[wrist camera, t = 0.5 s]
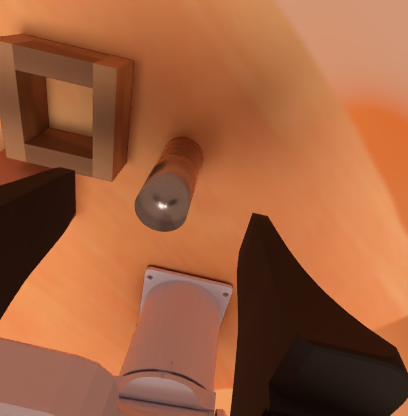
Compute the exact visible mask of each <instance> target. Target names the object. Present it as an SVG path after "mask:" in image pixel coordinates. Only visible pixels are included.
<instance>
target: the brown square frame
mask: <svg viewBox="0 0 408 416" xmlns="http://www.w3.org/2000/svg"><path fill="white" fill-rule="evenodd" d="M133 65H134V61H133V60H129V59H125V58H121V57H116V56H112V55H108V54H104V53H100V52H95V51H91V50H87V49H83V48H79V47H74V46H70V45H66V44H62V43H57V42H53V41H49V40H45V39H41V38H36V37H32V36H28V35H24V34H17V35H9V36H1V37H0V119H1V125H2V131H3V137H4V144H5V150H6V156H7V158H11V159H15V160H20V161H24V162H28V163H33V164H37V165H41V166H46V167H50V168H57V167H62V168H66V169H71V170H75V173H76V174H80V175H85V176H89V177H93V178H97V179H102V180H106V181H110V182H112V181H113V180H114V179H115V177H116V176H117V175H118V173H119V172H120V171H121V170H122V168H123V167H124V166H125V164H126V163H127V151H128V136H129V122H130V108H131V93H132V79H133ZM45 77H48V78H52V79H56V80H61V81H65V82H69V83H73V84H78V85H82V86H86V87H90V88H93V138H89V137H85V136H81V135H77V134H72V133H68V132H64V131H60V130H55V129H51V128H49V121H48V108H47V94H46V81H45Z"/></svg>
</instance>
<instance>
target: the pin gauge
mask: <svg viewBox="0 0 408 416" xmlns="http://www.w3.org/2000/svg"><path fill="white" fill-rule="evenodd" d="M202 161H203V154H202V151H201V149H200V147H199V146H198V145H197V144H196V143H195V142H194V141H192V140H190V139H188V138H176V139H173V140H171V141H170V142H169V143H168V144H167V145H166V147H165V149H164V151H163V152H162V154H161V156H160V158H159V159H158V161H157V163H156V165H155V166H154V168H153V170H152V171H151V173H150V175H149V177H148V178H147V180H146V182H145V184H144V185H143V187H142V189H141V191H140V192H139V194H138V196H137V198H136V200H135V212H136V214H137V216H138V218H139V219H140V221H141V222H142V223H143V224H145V225H146V226H147V227H149V228H151V229H154V230H157V231H163V232H167V231H172V230H175V229H177V228H179V227H180V226H182V224H183V223H184V222H185V220H186V217H187V214H188V210H189V207H190V203H191V200H192V196H193V193H194V189H195V186H196V182H197V179H198V175H199V172H200V168H201V165H202Z"/></svg>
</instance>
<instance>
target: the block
mask: <svg viewBox="0 0 408 416" xmlns="http://www.w3.org/2000/svg"><path fill="white" fill-rule="evenodd" d="M50 169H53V168H50V167H46V166H41V165H37V164H33V163H28V162H24V161H20V160H15V159H11V158H7V156H6V150H5V149H4V150H2V151H1V152H0V185H3V184H6V183H10V182H13V181H16V180H19V179H22V178H25V177H28V176H31V175H34V174H37V173H40V172H43V171H46V170H50ZM75 216H76V214H75V215H74V217H75ZM74 217H73V218H74ZM71 221H72V220H71Z"/></svg>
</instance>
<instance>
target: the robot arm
mask: <svg viewBox="0 0 408 416" xmlns="http://www.w3.org/2000/svg"><path fill="white" fill-rule="evenodd" d="M75 213H76V198H75V170H71V169H66V168H62V167H57V168H53V169H50V170H46V171H43V172H40V173H37V174H34V175H31V176H28V177H25V178H22V179H19V180H16V181H13V182H10V183H6V184H3V185H0V319H1V318H2V316H3V314H4V313H5V311H6V309H7V308H8V306H9V305H10V303H11V301H12V300H13V298H14V297H15V295H16V294H17V292H18V291H19V289H20V288H21V286H22V285H23V283H24V282H25V280H26V279H27V278H28V276H29V275H30V274H31V272H32V271H33V270H34V269H35V268H36V266H37V265H38V264H39V263H40V261H41V260H42V259H43V258H44V257H45V255H46V254H47V253H48V252H49V251H50V249H51V248H52V247H53V246H54V245H55V243H56V242H57V241H58V240H59V238H60V237H61V236H62V235H63V233H64V232H65V230H66V229H67V227H68V226H69V224H70V222H71V220H72V219H73V217H74V215H75ZM149 275H151V276H149ZM232 292H233V287H232V286H231V285H229V284H225V283H221V282H216V281H212V280H207V279H203V278H199V277H194V276H190V275H186V274H181V273H177V272H172V271H168V270H164V269H159V268H155V267H147V268H146V271H145V276H144V284H143V291H142V299H141V306H140V314H139V319H138V322H137V325H136V328H135V331H134V334H133V337H132V340H131V343H130V345H129V348H128V351H127V354H126V357H125V360H124V363H123V366H122V369H121V372H120V374H119V376H113V375H112V374H111V373H110V372H109V371H107V370H106V369H105V368H104V367H102V366H101V365H100V364H99V363H97V362H94V361H92V360H89V359H86V358H84V357H81V356H79V355H75V354H70V353H66V352H62V351H57V350H53V349H49V348H44V347H40V346H35V345H31V344H27V343H22V342H18V341H14V340H9V339H5V338H0V416H214V410H215V398H216V397H215V396H216V393H215V392H213V390H214V378H215V367H216V355H217V343H218V332H219V327H220V325H221V322H222V319H223V316H224V314H225V311H226V308H227V305H228V303H229V300H230V297H231V295H232ZM237 296H238V339H237V352H236V363H235V374H234V384H233V394H232V404H231V412H230V416H390V415H391V414H392V413H393V412H394V411H396V410H397V409H398V408H399V407H400V406H401V405H402V404H403V403H404V402H405V401H406V399H407V398H408V372H407V370H406V368H405V366H404V364H403V361H402V359H401V357H400V355H399V352H398V350H397V348H396V347H394V346H393V345H392V344H390V343H389V342H387V341H386V340H384V339H383V338H381V337H380V336H379V335H377V334H376V333H374V332H373V331H371V330H370V329H368V328H367V327H366V326H364V325H363V324H362V323H360V322H359V321H358V320H357V319H355V318H354V317H353V316H351V315H350V314H349V313H348V312H347V311H345V310H344V309H343V308H342V307H341V306H339V305H338V304H337V303H336V302H335V301H334V300H333V299H332V298H331V297H330V296H329V295H327V294H326V293H325V292H324V291H323V290H322V289H321V288H320V287H319V286H318V285H317V284H316V282H315V281H314V280H313V279H312V278H311V277H310V276H309V275H308V274H307V273H306V271H305V270H304V269H303V268H302V267H301V265H300V264H299V263H298V261H297V260H296V259H295V257H294V256H293V255H292V253H291V252H290V251H289V249H288V248H287V246H286V245H285V243H284V242H283V240H282V239H281V237H280V235H279V234H278V232H277V231H276V229H275V227H274V226H273V224H272V222H271V221H270V219H269V217H268V216H264V215H260V214H256V213H252V216H251V219H250V222H249V225H248V228H247V231H246V233H245V236H244V239H243V242H242V245H241V248H240V250H239V257H238V267H237ZM215 416H226V414H225V411H224V410H223V409H216V411H215Z"/></svg>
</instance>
